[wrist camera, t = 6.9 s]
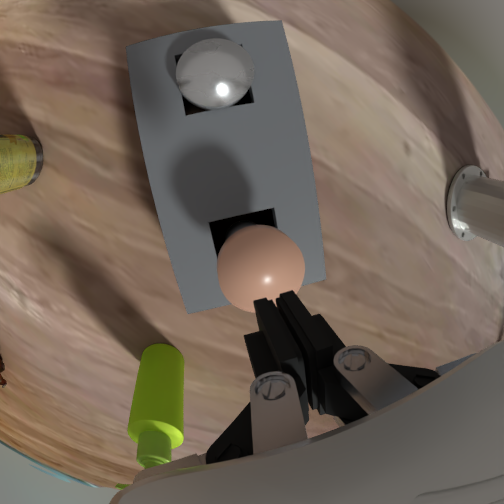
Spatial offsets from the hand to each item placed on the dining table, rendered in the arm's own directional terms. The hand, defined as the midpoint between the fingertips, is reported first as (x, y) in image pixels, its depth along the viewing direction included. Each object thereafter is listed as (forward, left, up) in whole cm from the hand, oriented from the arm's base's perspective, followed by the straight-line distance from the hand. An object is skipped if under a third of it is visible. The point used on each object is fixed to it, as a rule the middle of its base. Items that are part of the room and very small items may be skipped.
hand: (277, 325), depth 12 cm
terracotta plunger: (0, 0, -13) cm, 13 cm away
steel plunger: (0, -13, -17) cm, 21 cm away
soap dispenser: (+14, +17, -21) cm, 30 cm away
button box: (0, -6, -21) cm, 22 cm away
